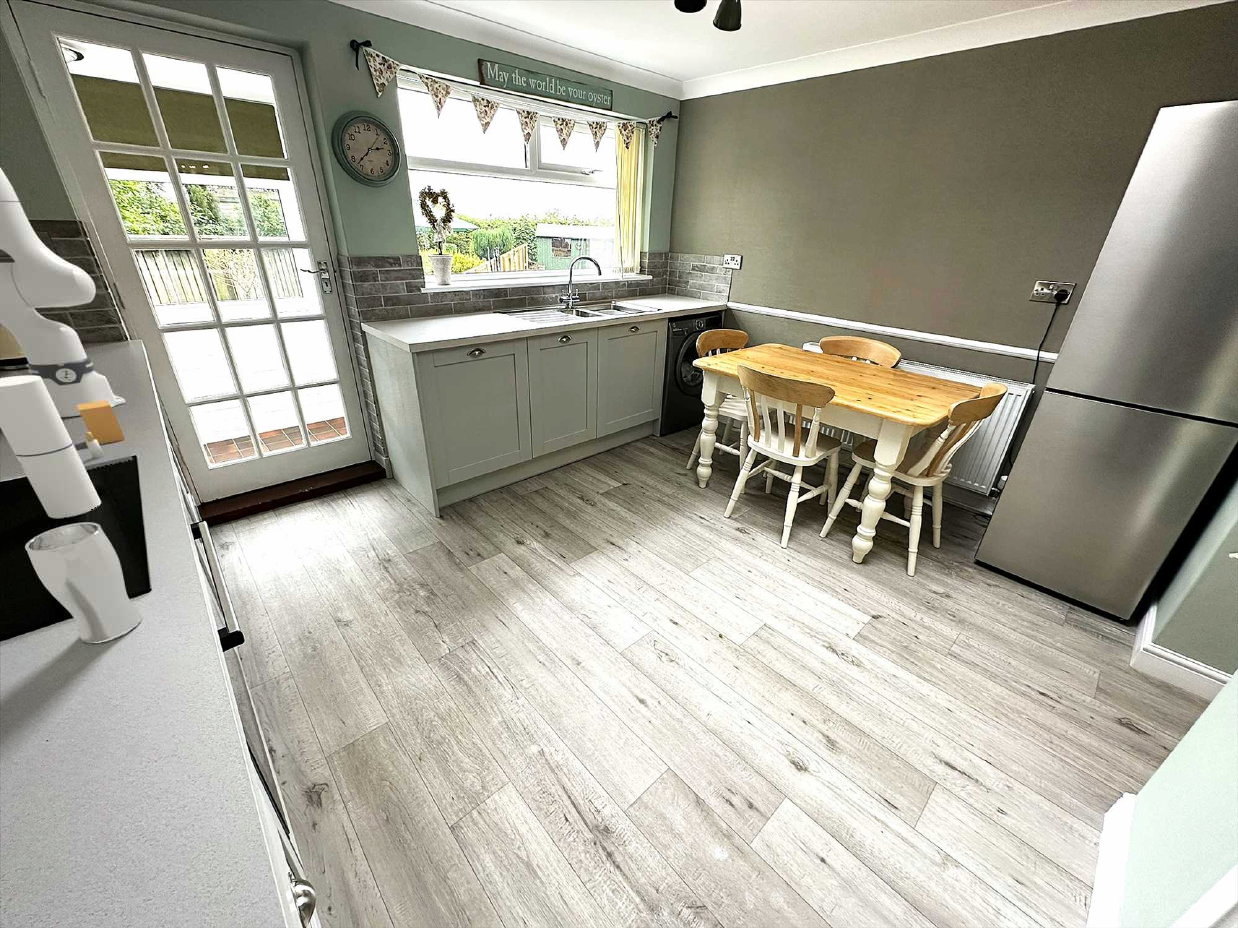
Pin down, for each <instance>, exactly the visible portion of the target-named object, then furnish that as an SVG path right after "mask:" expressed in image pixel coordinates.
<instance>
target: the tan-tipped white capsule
mask: <svg viewBox="0 0 1238 928" xmlns="http://www.w3.org/2000/svg"><path fill="white" fill-rule="evenodd" d="M83 433H84V436H85V438H86V441H85V445H86V446H87V448H89V450H90V452H91V454H92V457H93V458H94V459H98V458H102V457H104V454H103V452H102V450H101V448H100V446H101V444H100V445H99V443H98V441H97V440H96V439H94V438H93V436H92V434H91V432H89V431H85V432H83Z"/></svg>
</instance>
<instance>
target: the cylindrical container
mask: <svg viewBox="0 0 1238 928" xmlns="http://www.w3.org/2000/svg"><path fill="white" fill-rule="evenodd" d="M0 429H1V431H2V433H3V435H4V436H5V437H4V438H5V439H6V441H7V443H8V444H9V446H10V448H11V449H12V451H13V453H14V455H15V457H16V458H17V460H18V462H19V464H20V466H21V468H22V470H23V472H24V473H25V476H26V477H27V479H28V481H29V483H30V485H31V486H32V488H33V490H34V492H35V494H36V496H37V497H38V500H39V501H40V503H41V505H42V507H43V509H44V510H45V512H46V514H47V516H48V517H49V518H52V519H64V518H65V517H66V518H70V517H75V516H79V515H83V514H86V513H88V512H90V511H92V510H91V509H93V510H95V509H96V508H98V507H99V506H100V505H101V504H102V501H101V498H100V497H99V495H98V493H97V490H96V489H95V487H94V484H93V482H92V480H91V479H90V476H89V473H88V472H87V470H85V467H84V465H83V463H82V461H81V459H80V457H79V455H78V453H77V449H76V447H75V445H74V443H73V441H72V439H71V437H70V434H69V432H68V430H67V428H66V426H65V424H64V422H63V420H62V417H60V415H59V413H58V411H57V409H56V407H55V405H54V403H53V401H52V399H51V397H50V395H49V393H48V391H47V388H46V386H45V384H44V382H43V380H42V378H41V377H40V376H32V374H31V375H29V374H28V375H16V376H14V375H13V376H5V377H1V378H0ZM97 506H98V507H97ZM95 507H96V508H95ZM94 508H95V509H94Z"/></svg>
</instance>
